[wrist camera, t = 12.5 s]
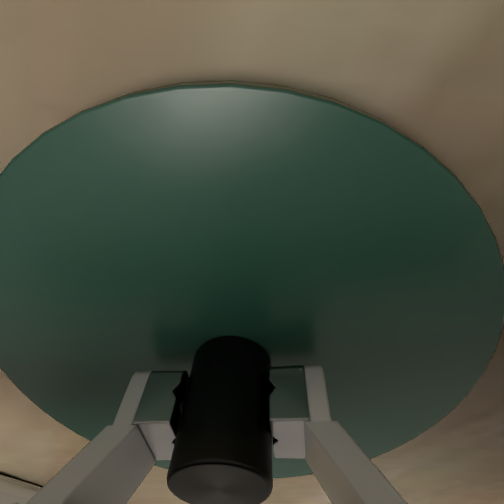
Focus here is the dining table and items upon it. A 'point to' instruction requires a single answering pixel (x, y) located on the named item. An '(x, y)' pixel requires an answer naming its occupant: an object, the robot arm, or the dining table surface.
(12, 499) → the syrup box
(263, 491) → the lid
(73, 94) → the dining table surface
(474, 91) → the dining table surface
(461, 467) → the dining table surface
